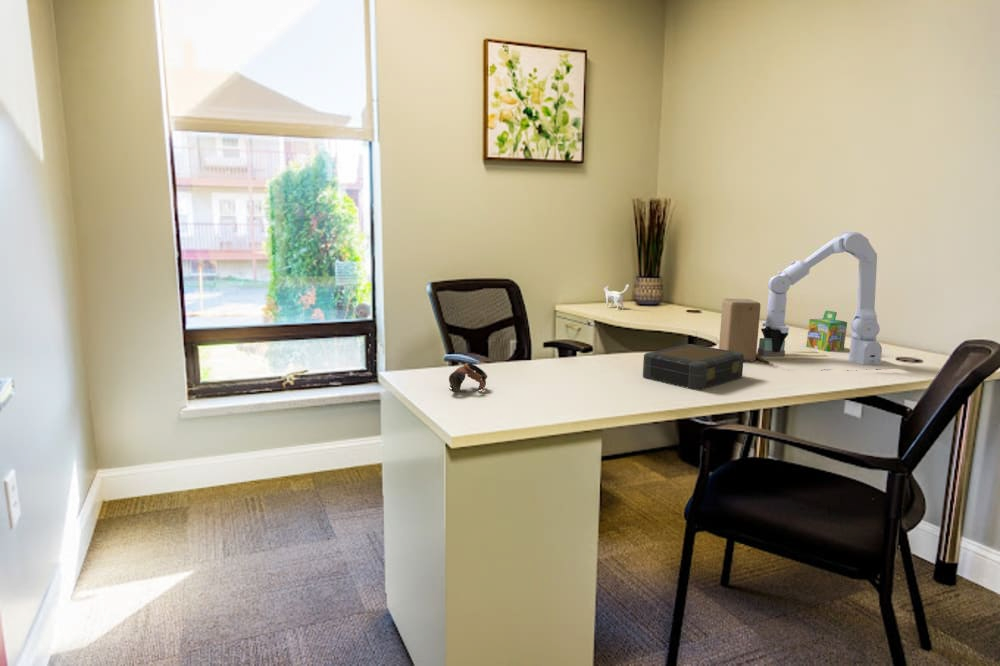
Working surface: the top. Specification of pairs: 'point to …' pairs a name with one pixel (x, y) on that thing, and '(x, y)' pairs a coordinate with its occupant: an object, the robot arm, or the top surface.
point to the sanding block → (769, 348)
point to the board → (797, 356)
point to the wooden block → (740, 327)
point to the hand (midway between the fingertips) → (772, 350)
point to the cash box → (693, 366)
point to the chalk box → (826, 333)
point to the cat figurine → (614, 296)
